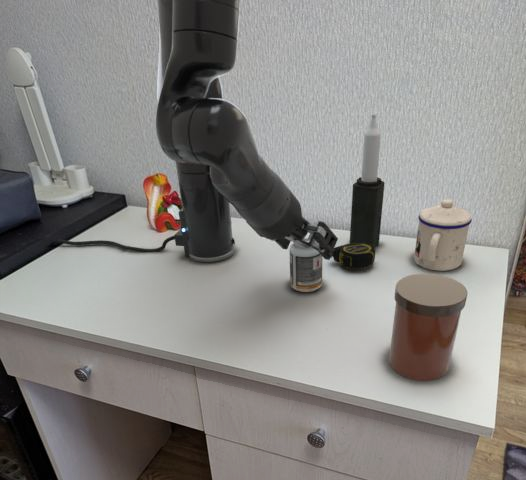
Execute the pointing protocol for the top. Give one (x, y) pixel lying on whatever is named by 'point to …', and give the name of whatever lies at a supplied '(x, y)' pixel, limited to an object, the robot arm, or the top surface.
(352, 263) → the tape measure
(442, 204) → the teacup with lid
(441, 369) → the jar
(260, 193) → the robot arm
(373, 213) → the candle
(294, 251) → the pill bottle
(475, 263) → the top surface
